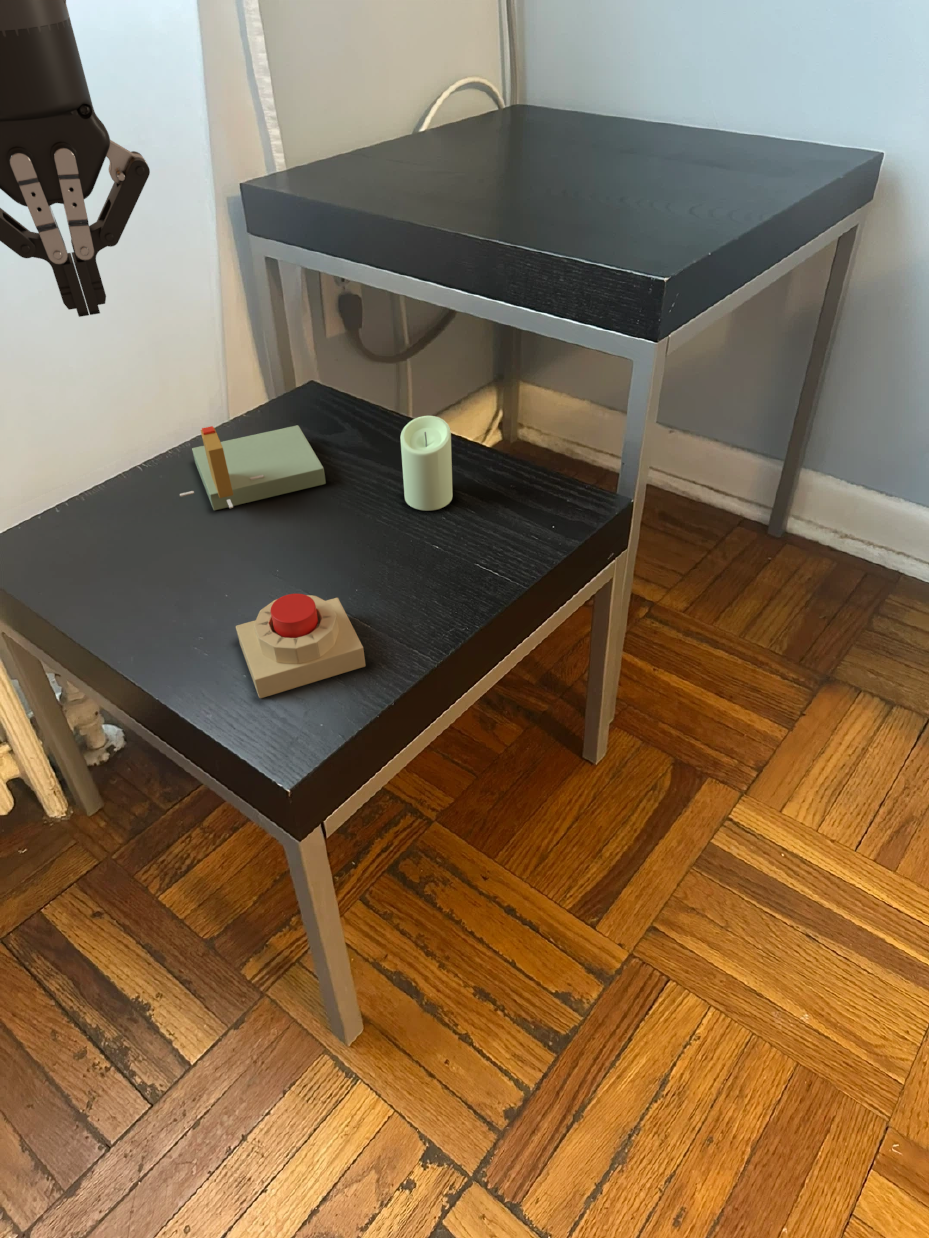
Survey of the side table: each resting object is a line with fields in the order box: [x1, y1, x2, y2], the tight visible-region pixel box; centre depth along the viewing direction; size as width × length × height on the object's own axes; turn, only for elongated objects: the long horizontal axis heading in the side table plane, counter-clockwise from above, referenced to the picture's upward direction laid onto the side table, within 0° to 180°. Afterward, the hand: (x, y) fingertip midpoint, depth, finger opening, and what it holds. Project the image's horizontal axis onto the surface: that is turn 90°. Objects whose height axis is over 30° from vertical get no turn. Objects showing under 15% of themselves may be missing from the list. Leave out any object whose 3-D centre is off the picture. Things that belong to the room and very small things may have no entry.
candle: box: [400, 415, 453, 512], centre depth 89 cm, size 5×5×8 cm
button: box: [270, 593, 318, 638], centre depth 71 cm, size 4×4×2 cm
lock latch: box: [200, 425, 233, 498], centre depth 88 cm, size 4×1×6 cm, turn 23°
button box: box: [235, 594, 366, 699], centre depth 73 cm, size 9×7×4 cm
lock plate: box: [179, 425, 327, 511], centre depth 93 cm, size 15×13×2 cm
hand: (88, 311), depth 62 cm, fingers closed
